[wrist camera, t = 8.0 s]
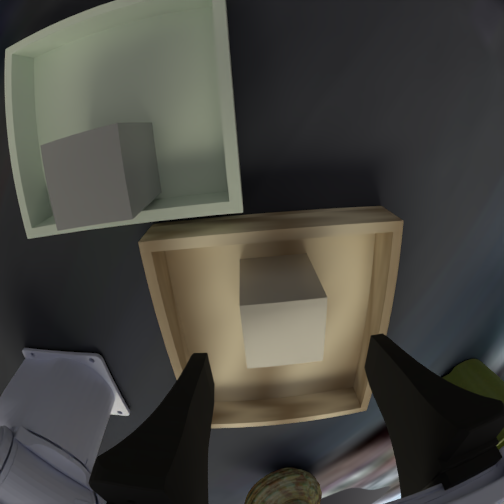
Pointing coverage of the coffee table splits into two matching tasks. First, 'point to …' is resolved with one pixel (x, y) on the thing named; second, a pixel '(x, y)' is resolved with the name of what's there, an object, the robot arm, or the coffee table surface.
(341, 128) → the coffee table surface
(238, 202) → the green bin
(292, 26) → the coffee table surface
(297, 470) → the seashell
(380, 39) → the coffee table surface
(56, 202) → the grey block
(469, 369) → the plant pot
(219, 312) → the birch bin
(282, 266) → the stone
